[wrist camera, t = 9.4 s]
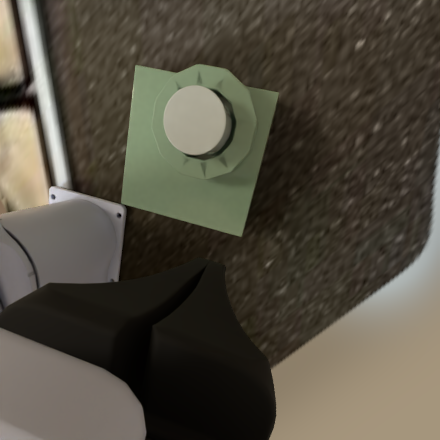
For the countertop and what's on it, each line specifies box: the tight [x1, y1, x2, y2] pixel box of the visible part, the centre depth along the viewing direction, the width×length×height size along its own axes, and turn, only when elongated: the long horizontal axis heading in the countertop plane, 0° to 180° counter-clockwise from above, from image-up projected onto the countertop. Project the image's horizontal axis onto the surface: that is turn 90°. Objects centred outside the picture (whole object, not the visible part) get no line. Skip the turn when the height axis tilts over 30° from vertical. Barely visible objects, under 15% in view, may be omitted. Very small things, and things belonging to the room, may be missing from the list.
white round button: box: [163, 85, 232, 155], centre depth 15 cm, size 4×4×2 cm
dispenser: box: [121, 64, 279, 237], centre depth 18 cm, size 10×10×5 cm
